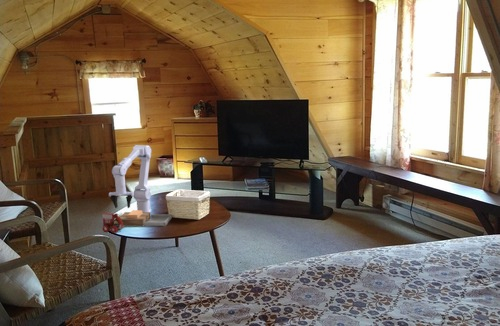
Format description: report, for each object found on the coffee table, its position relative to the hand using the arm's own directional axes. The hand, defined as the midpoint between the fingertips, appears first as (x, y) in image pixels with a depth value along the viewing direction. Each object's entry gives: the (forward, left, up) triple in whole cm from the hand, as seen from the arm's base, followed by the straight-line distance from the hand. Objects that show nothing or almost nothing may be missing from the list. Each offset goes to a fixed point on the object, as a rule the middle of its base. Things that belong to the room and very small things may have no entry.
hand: (122, 207), depth 259 cm
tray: (-2, +21, -10) cm, 23 cm away
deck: (-2, +6, -10) cm, 11 cm away
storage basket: (-15, +37, -10) cm, 41 cm away
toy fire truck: (+13, -1, -10) cm, 17 cm away
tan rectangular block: (-2, +7, -6) cm, 9 cm away
